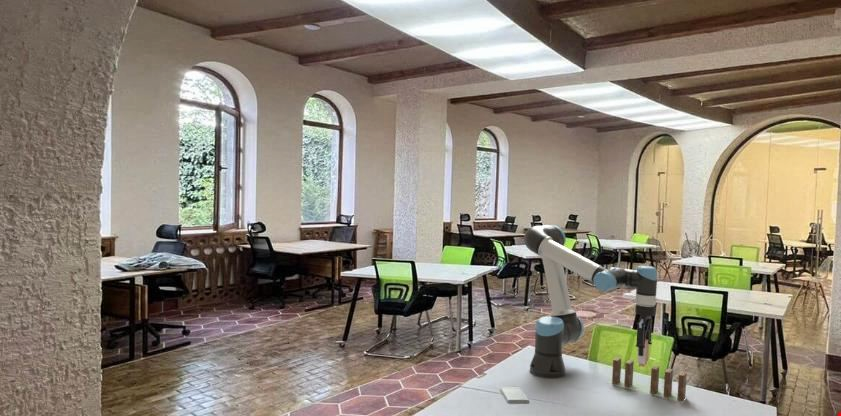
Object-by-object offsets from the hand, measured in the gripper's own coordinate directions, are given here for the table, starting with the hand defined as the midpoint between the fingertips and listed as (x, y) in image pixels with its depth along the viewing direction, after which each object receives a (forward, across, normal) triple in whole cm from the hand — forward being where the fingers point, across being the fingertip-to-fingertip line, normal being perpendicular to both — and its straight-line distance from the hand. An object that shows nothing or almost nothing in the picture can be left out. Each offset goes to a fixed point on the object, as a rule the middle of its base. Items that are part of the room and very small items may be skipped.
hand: (642, 361), depth 215 cm
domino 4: (+11, 0, -5) cm, 12 cm away
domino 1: (+11, 0, +10) cm, 15 cm away
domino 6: (+11, 0, -15) cm, 19 cm away
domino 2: (+11, 0, +5) cm, 12 cm away
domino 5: (+11, 0, -10) cm, 15 cm away
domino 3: (+1, 0, 0) cm, 1 cm away
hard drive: (+12, -41, +36) cm, 56 cm away
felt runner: (+12, 0, -2) cm, 12 cm away
